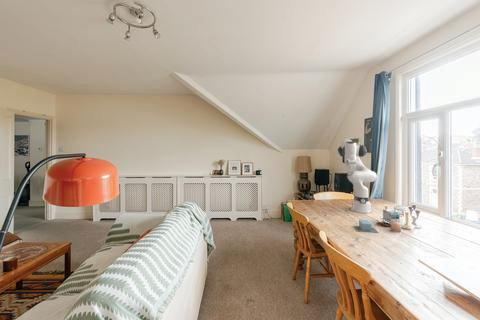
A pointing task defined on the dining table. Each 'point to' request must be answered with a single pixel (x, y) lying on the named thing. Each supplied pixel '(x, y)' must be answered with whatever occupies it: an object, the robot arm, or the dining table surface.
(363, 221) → the block
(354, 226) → the mat
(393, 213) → the light bulb box
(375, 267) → the dining table surface
